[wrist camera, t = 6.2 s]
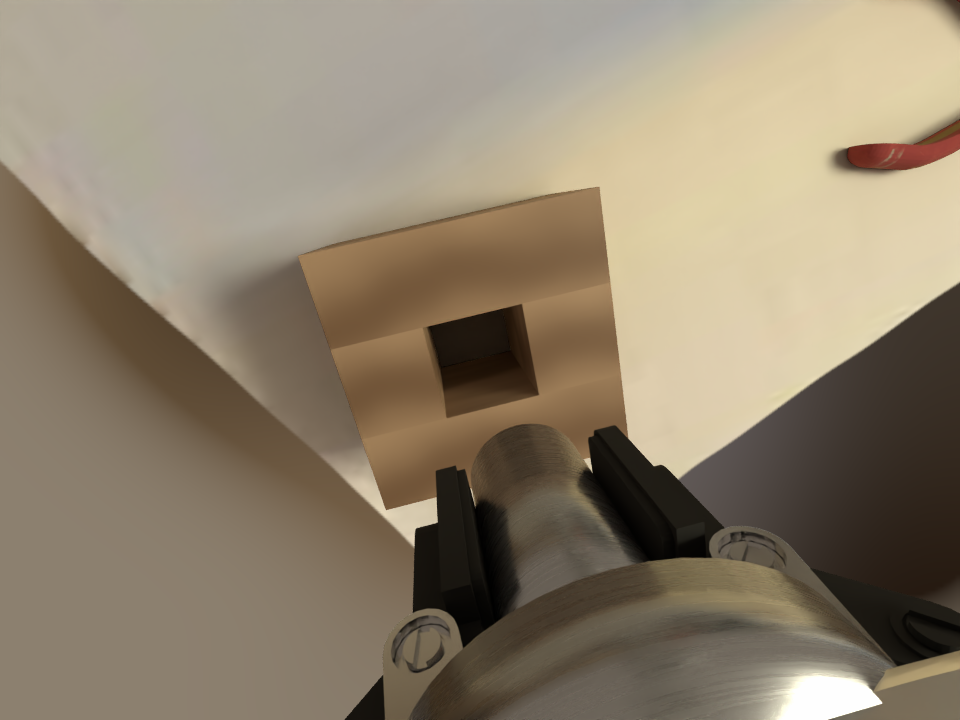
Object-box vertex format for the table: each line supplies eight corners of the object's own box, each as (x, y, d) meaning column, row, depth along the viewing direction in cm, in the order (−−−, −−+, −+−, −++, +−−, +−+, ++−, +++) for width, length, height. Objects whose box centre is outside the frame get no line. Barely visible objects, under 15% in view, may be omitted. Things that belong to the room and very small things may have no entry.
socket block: (332, 244, 27) (297, 255, 20) (551, 193, 28) (599, 186, 20) (394, 439, 32) (385, 510, 24) (581, 393, 33) (629, 447, 25)
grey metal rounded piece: (380, 399, 11) (275, 842, 3) (624, 339, 12) (1071, 612, 4) (441, 591, 14) (467, 1145, 5) (646, 536, 14) (957, 985, 6)
